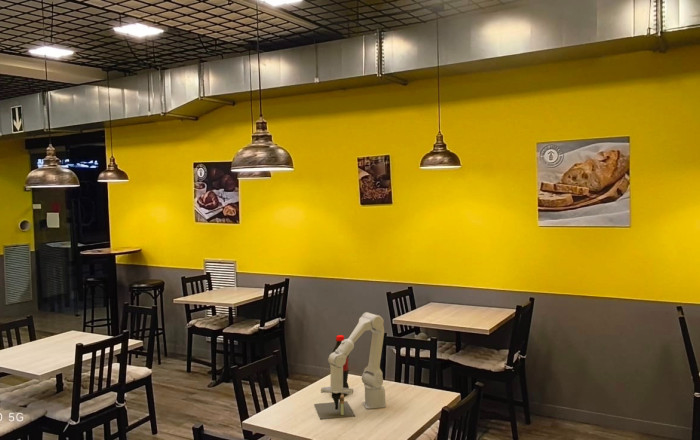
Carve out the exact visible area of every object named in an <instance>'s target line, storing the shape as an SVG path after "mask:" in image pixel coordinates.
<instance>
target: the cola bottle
mask: <svg viewBox="0 0 700 440" xmlns="http://www.w3.org/2000/svg"><path fill="white" fill-rule="evenodd" d="M344 339H345V336H344V335H342V334H340V335H339V334H338V335H336V337H335V341H336V342H335V343H336V344H335V345H334V348H333V350H332V352H331V353H333V352H335V350H337V348H338V347H339V346H340V344H341V342H342V341H344ZM349 371H350V370H349V355H348V356H347V358H346V362H345V364H344V365H343V387H344V388H349V389H350V386H349V383H348V378H349ZM347 395H348V394H344V397H345V396H347Z"/></svg>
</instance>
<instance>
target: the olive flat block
mask: <svg viewBox="0 0 700 440" xmlns="http://www.w3.org/2000/svg"><path fill="white" fill-rule="evenodd" d="M344 401H345V396H344V394H341V396H340V399H339V402H340V407H341V415H344Z"/></svg>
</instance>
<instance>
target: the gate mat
mask: <svg viewBox="0 0 700 440" xmlns="http://www.w3.org/2000/svg"><path fill="white" fill-rule="evenodd" d="M342 394H344V393H342ZM313 405H314V408H315V411H316V413H317V414H318V417H319V419H320V420H331V419H332V420H333V419H341V418H350V417H351V418H353V417H356V414H355V412H354V411H353V409H352V407H351V406H350V403H349V402H348V401H347V400H344V415H341V407H340V401H339V402H338V410H336V409H335V403H334V401H333V402H324V403H323V402H322V403H321V402H320V403H314V404H313Z"/></svg>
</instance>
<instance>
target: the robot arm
mask: <svg viewBox="0 0 700 440" xmlns="http://www.w3.org/2000/svg"><path fill="white" fill-rule="evenodd" d="M384 322H385V320H384V318H382V316H381V315H379V314H374V313H370V312H368V311H366V312H364V313H363V314H362V315H361V316H360V317H359V319H358V323H357V325H356V326H355V327H354V329H353V330H352V332H351V334H350V335H349V337H348V338H344V341H342V342H341V344H340V346H339V347H338V348H337V350H335V352H333V351H332V352H333V353H332V352H331V353H330V354H329V356H328V358H327V362H328V363H329V367H330V386H327V387H326V386H325V387H324V386H323V387H321V388H320V393H321V394H325V393H326V394H327V393H328V394H329V393H330V394H331V398H332V400H333V402H334V403H335V409H336V410H338V402H340V396H341V394H342V393H344V394H347V395H353V394H354V388H350V387H349V388H344V387H343V365H344V364H345V362H346V358H347V356H348V355H349V354H350V353H351V352H352V351H353V350H354V349H355V342H357V340H358V339H359V338H360V337H361V336H362V335H363V334H364V332H366V331H371V333H372V335H371V344H370V348H369V358H368V362H367V363H368V365H367V366H365V368H364V369H363V373H362V375H361V382H362V383H363V384H364V385H363V386H364V401H362V405H363V406H364V408H365V409H368V410H369V409H381V408H386V391H385V390H386V389H385V386H383V385H384V377H383V370H382V369H381V359H382V353H383V352H382V351H383V345H384V336H385V327H384Z"/></svg>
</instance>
